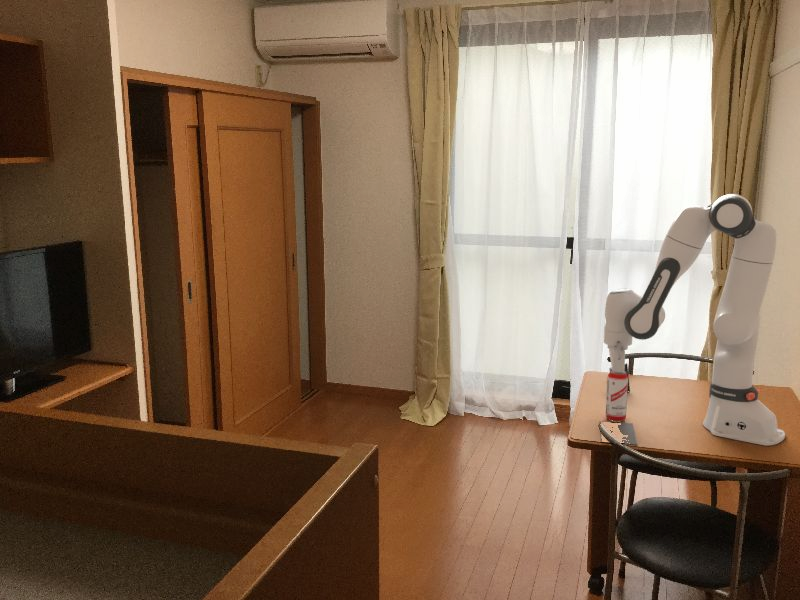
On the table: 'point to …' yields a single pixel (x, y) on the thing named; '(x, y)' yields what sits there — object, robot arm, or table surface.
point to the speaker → (627, 375)
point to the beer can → (616, 396)
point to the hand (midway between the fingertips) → (616, 378)
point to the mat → (627, 433)
